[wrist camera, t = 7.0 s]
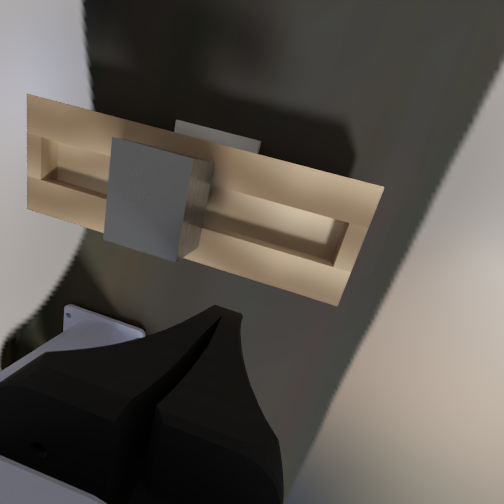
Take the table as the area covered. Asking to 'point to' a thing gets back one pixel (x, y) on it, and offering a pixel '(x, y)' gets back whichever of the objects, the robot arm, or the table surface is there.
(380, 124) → the table surface
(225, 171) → the tan slotted track
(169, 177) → the block
